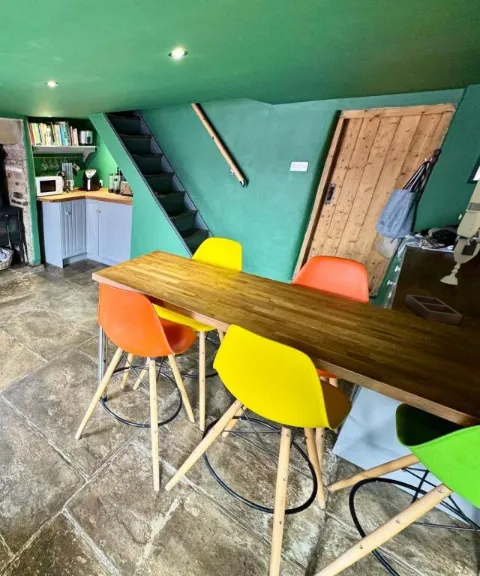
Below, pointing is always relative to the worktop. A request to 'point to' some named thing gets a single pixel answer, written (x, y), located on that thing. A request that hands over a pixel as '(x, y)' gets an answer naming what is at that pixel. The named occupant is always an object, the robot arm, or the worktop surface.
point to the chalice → (459, 260)
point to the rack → (432, 309)
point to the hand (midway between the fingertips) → (461, 252)
